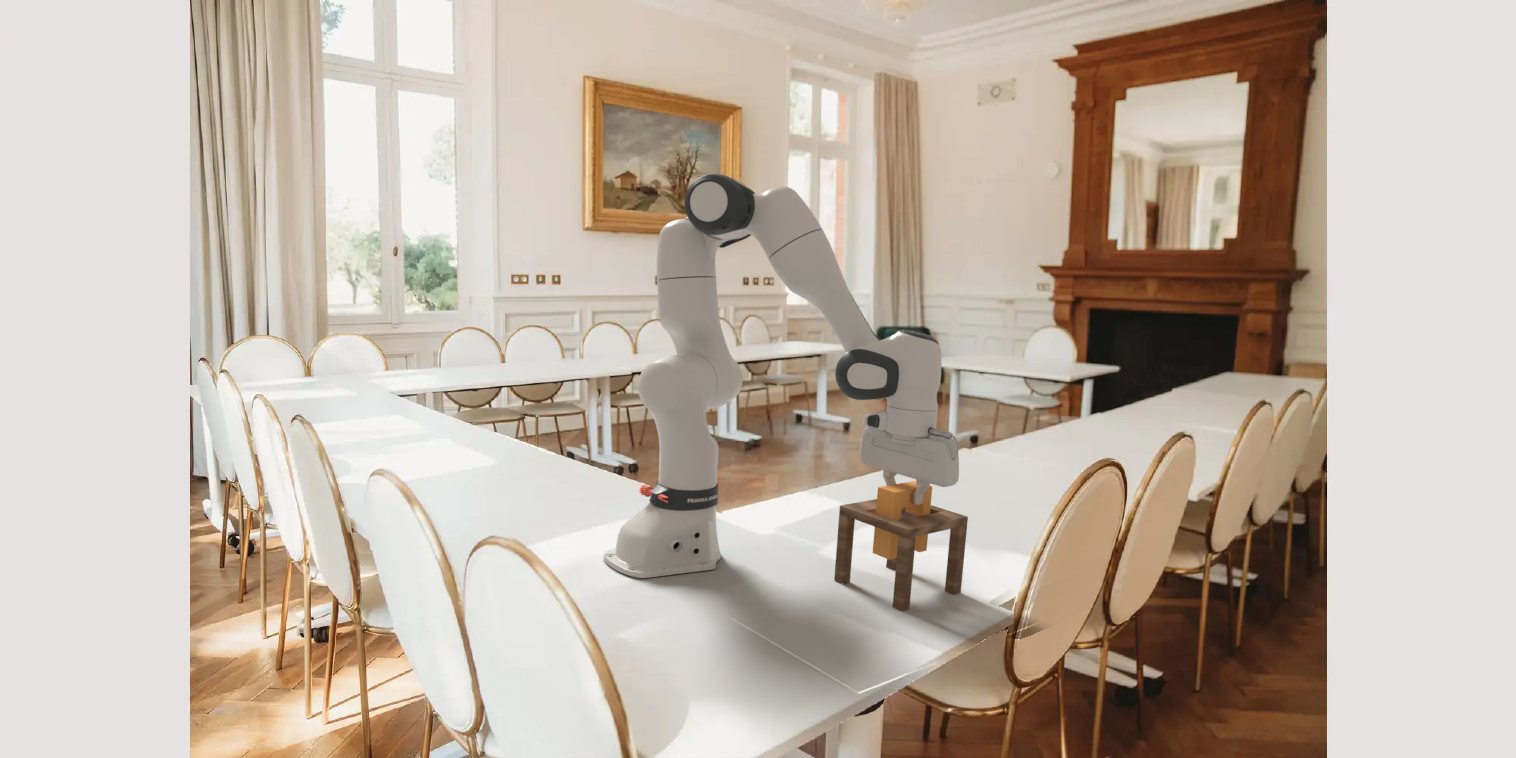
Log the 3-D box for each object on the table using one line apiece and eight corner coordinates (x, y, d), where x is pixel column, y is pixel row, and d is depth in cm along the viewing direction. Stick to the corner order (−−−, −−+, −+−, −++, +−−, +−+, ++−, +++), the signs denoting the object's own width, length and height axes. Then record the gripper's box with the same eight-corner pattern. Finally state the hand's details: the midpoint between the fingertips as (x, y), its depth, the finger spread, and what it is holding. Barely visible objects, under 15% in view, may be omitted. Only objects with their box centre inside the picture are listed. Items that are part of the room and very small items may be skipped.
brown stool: (901, 611, 137) (908, 529, 135) (834, 580, 149) (839, 505, 147) (960, 592, 147) (967, 516, 145) (893, 565, 159) (899, 495, 158)
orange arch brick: (889, 559, 143) (895, 492, 141) (872, 552, 146) (878, 487, 144) (926, 550, 149) (932, 486, 147) (909, 544, 152) (915, 481, 151)
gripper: (970, 432, 138) (963, 512, 140) (880, 412, 154) (874, 484, 156) (947, 435, 134) (939, 517, 136) (857, 414, 150) (851, 488, 152)
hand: (904, 499), depth 146 cm, fingers closed on orange arch brick, 4 cm apart
